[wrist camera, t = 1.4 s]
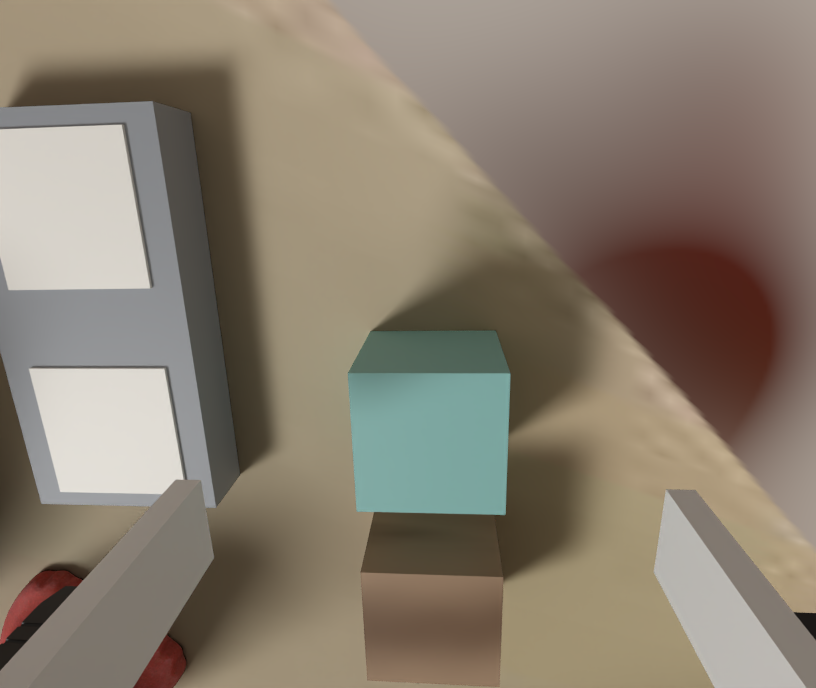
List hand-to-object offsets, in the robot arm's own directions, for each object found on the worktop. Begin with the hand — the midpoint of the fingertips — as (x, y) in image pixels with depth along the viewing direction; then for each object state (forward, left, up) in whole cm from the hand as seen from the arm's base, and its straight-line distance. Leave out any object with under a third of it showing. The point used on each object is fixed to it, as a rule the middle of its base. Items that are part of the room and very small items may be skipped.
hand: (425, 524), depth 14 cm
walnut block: (-9, 0, -11) cm, 15 cm away
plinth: (+4, +15, -11) cm, 19 cm away
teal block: (0, 0, -11) cm, 11 cm away
